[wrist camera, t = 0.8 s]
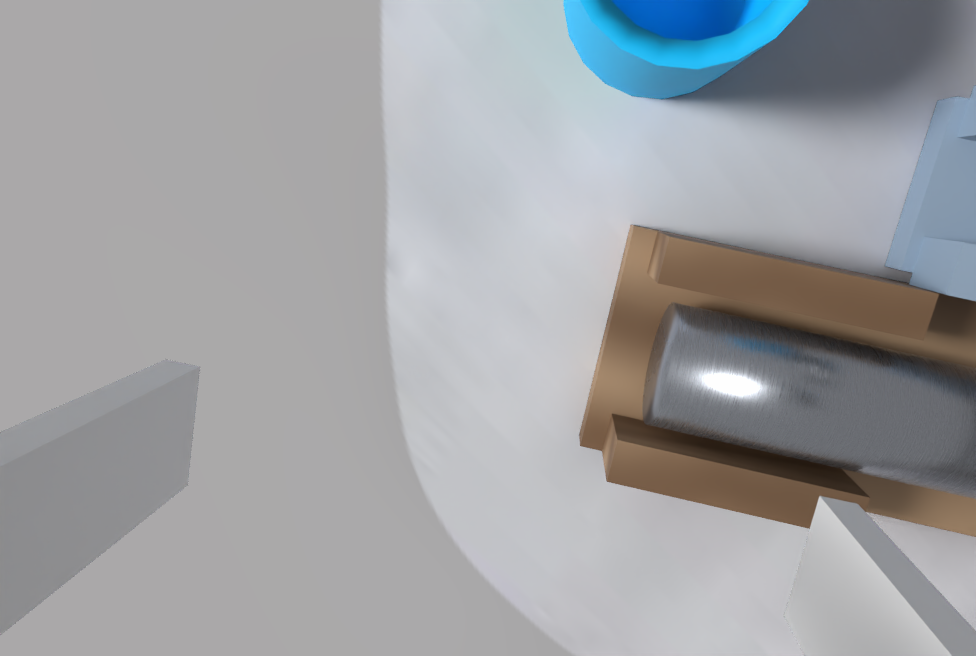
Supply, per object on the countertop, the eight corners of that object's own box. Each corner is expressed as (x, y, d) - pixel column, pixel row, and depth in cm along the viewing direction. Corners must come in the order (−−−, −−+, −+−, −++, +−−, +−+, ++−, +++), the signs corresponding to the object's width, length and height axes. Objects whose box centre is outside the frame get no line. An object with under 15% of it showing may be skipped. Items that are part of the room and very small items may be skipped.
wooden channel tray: (630, 224, 32) (643, 231, 28) (1189, 343, 31) (1306, 372, 26) (579, 434, 34) (582, 475, 30) (1101, 554, 33) (1195, 618, 28)
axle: (637, 403, 32) (651, 442, 27) (666, 293, 31) (685, 313, 26) (958, 475, 32) (1030, 528, 27) (998, 365, 31) (1081, 400, 26)
